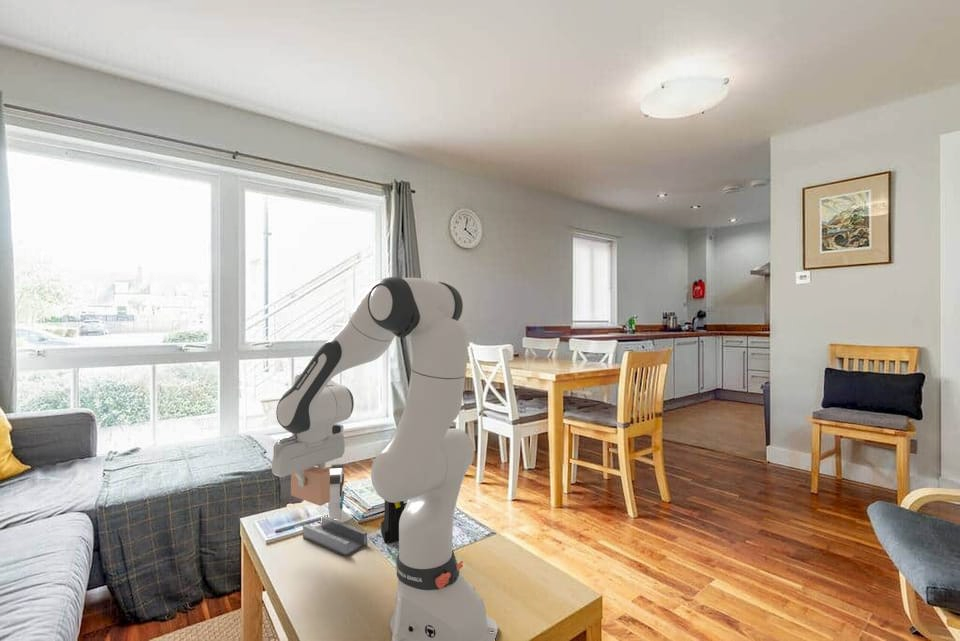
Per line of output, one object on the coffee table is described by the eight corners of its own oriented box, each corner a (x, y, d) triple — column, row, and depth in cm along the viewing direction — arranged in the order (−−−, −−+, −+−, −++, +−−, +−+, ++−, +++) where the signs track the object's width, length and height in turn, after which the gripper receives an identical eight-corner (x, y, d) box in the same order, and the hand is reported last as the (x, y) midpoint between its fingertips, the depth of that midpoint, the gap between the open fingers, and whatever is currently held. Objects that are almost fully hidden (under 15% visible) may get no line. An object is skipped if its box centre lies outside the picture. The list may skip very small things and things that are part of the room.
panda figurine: (352, 524, 135) (352, 475, 134) (313, 527, 132) (313, 477, 132) (355, 507, 146) (355, 462, 146) (318, 510, 144) (319, 464, 144)
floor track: (367, 544, 123) (367, 532, 123) (345, 557, 117) (345, 544, 116) (324, 527, 132) (324, 515, 132) (303, 537, 126) (303, 525, 126)
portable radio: (407, 541, 125) (407, 453, 124) (385, 545, 123) (385, 455, 122) (401, 528, 132) (401, 445, 132) (380, 532, 130) (381, 447, 129)
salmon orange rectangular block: (329, 501, 116) (329, 471, 115) (320, 505, 113) (320, 474, 113) (300, 491, 122) (300, 462, 122) (290, 495, 119) (290, 465, 119)
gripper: (281, 442, 107) (281, 499, 107) (348, 424, 124) (348, 473, 124) (266, 438, 110) (266, 493, 110) (333, 421, 127) (333, 469, 128)
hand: (310, 482), depth 117 cm, fingers closed on salmon orange rectangular block, 3 cm apart
